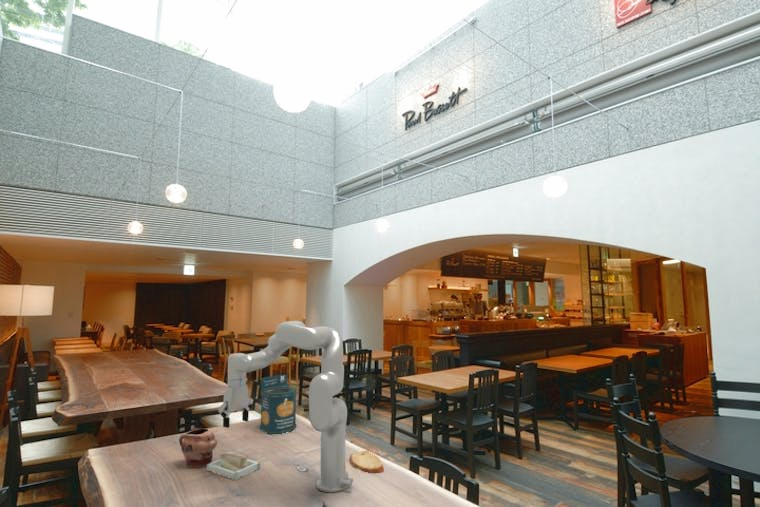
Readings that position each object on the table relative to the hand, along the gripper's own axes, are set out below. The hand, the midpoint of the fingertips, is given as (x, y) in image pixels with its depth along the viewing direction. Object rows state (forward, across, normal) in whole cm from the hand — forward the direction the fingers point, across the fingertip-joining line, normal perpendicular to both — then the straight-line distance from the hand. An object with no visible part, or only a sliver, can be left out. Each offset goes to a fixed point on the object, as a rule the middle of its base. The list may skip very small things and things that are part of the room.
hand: (236, 423), depth 167 cm
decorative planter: (+18, +4, -21) cm, 28 cm away
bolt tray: (+18, 0, -1) cm, 18 cm away
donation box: (+19, -48, -23) cm, 56 cm away
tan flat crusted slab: (+20, -33, +45) cm, 59 cm away
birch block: (+18, 0, -1) cm, 18 cm away
